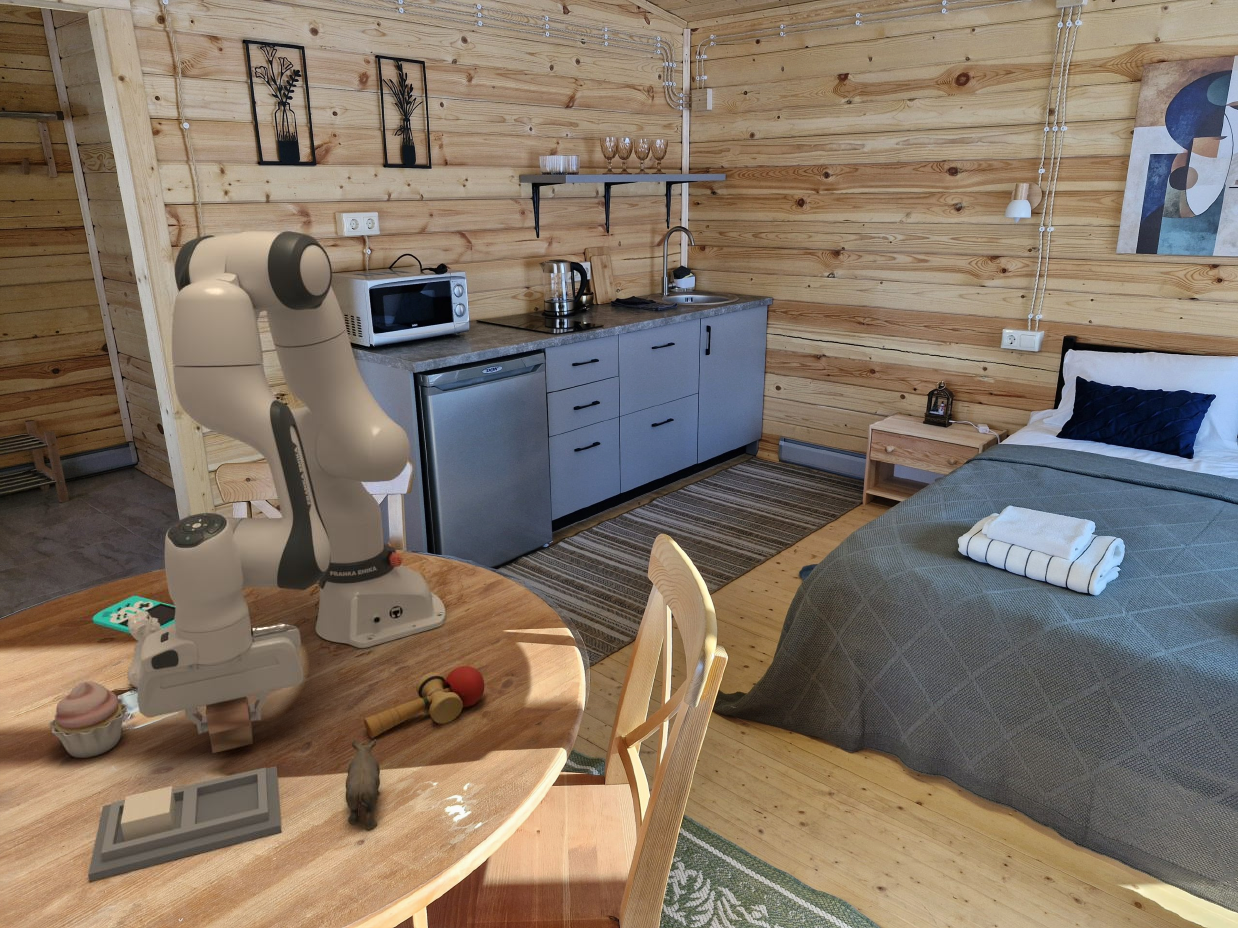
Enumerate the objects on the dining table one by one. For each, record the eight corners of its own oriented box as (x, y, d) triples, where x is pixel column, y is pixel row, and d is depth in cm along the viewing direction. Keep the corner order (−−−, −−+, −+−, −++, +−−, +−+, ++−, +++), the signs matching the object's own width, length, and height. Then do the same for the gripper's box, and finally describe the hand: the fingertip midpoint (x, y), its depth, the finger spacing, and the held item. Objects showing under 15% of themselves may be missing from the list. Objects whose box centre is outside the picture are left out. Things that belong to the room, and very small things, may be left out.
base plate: (277, 772, 113) (273, 746, 111) (281, 831, 102) (277, 804, 101) (104, 812, 105) (98, 785, 104) (89, 881, 95) (83, 852, 93)
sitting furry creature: (200, 680, 134) (189, 612, 130) (141, 703, 128) (128, 632, 124) (177, 658, 140) (165, 593, 136) (119, 679, 134) (106, 611, 130)
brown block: (251, 723, 120) (245, 686, 119) (252, 743, 116) (246, 705, 114) (213, 732, 119) (206, 695, 117) (212, 753, 114) (205, 714, 112)
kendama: (383, 761, 117) (498, 703, 126) (370, 720, 116) (487, 665, 125) (366, 741, 124) (476, 687, 133) (354, 703, 122) (466, 651, 131)
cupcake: (77, 775, 112) (63, 709, 109) (42, 751, 117) (27, 687, 113) (147, 738, 119) (135, 676, 116) (111, 717, 124) (98, 657, 121)
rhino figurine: (382, 759, 116) (379, 721, 114) (381, 829, 103) (377, 788, 101) (351, 764, 115) (347, 725, 113) (346, 835, 102) (341, 793, 100)
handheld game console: (136, 600, 161) (135, 593, 160) (198, 616, 155) (197, 609, 154) (86, 623, 152) (85, 616, 152) (150, 641, 146) (149, 634, 146)
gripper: (296, 609, 119) (307, 694, 123) (131, 640, 111) (149, 729, 115) (300, 630, 114) (312, 718, 118) (126, 664, 106) (146, 757, 110)
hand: (230, 724), depth 117 cm, fingers closed on brown block, 5 cm apart
